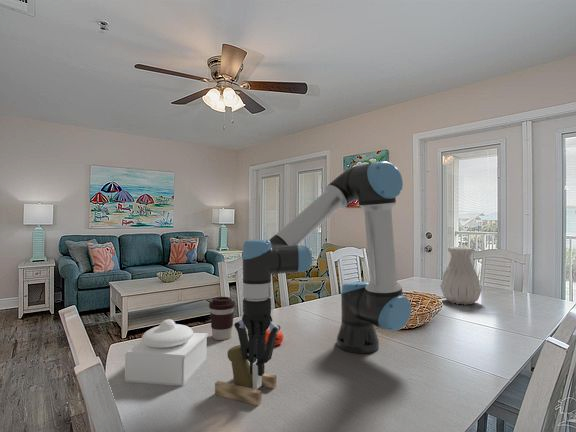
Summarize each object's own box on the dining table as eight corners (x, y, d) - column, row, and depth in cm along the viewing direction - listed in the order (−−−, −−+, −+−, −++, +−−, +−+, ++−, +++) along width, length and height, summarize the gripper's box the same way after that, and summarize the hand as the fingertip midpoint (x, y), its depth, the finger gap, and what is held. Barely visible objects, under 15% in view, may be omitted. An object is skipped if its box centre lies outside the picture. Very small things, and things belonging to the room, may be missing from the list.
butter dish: (156, 356, 114) (156, 309, 114) (208, 360, 111) (208, 311, 111) (124, 382, 96) (124, 326, 96) (184, 387, 94) (184, 329, 94)
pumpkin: (286, 344, 126) (288, 328, 125) (271, 350, 120) (273, 333, 120) (273, 337, 131) (274, 321, 130) (257, 343, 125) (259, 326, 124)
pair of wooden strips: (276, 386, 94) (276, 375, 94) (258, 405, 84) (258, 393, 84) (236, 377, 99) (236, 366, 99) (214, 394, 90) (215, 383, 90)
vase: (446, 306, 177) (446, 249, 177) (436, 297, 197) (436, 245, 197) (487, 308, 174) (487, 250, 174) (473, 298, 194) (473, 246, 194)
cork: (236, 387, 94) (226, 347, 96) (257, 379, 95) (246, 340, 96) (234, 395, 88) (222, 352, 90) (256, 387, 89) (244, 345, 90)
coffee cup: (229, 342, 126) (229, 302, 126) (204, 340, 128) (204, 301, 128) (238, 333, 136) (238, 296, 136) (215, 331, 138) (215, 295, 138)
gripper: (284, 296, 91) (284, 384, 91) (243, 293, 96) (243, 376, 96) (272, 303, 84) (273, 398, 84) (228, 298, 89) (228, 388, 89)
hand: (257, 386), depth 90 cm, fingers closed
